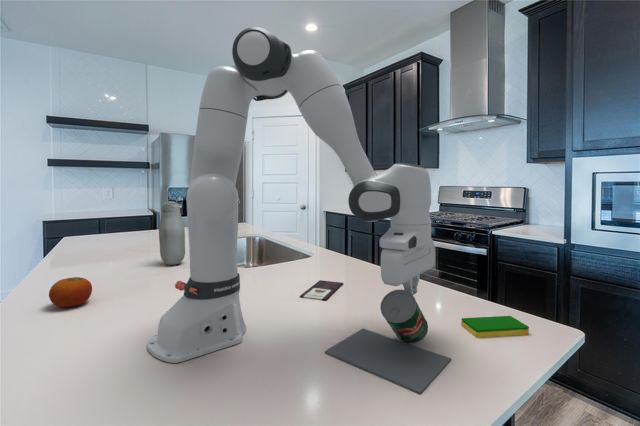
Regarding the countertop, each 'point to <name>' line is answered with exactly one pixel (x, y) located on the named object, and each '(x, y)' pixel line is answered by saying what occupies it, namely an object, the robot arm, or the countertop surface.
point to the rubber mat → (390, 359)
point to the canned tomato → (404, 316)
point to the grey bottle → (171, 234)
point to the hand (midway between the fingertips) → (410, 294)
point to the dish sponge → (494, 326)
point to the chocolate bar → (321, 290)
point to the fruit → (70, 292)
